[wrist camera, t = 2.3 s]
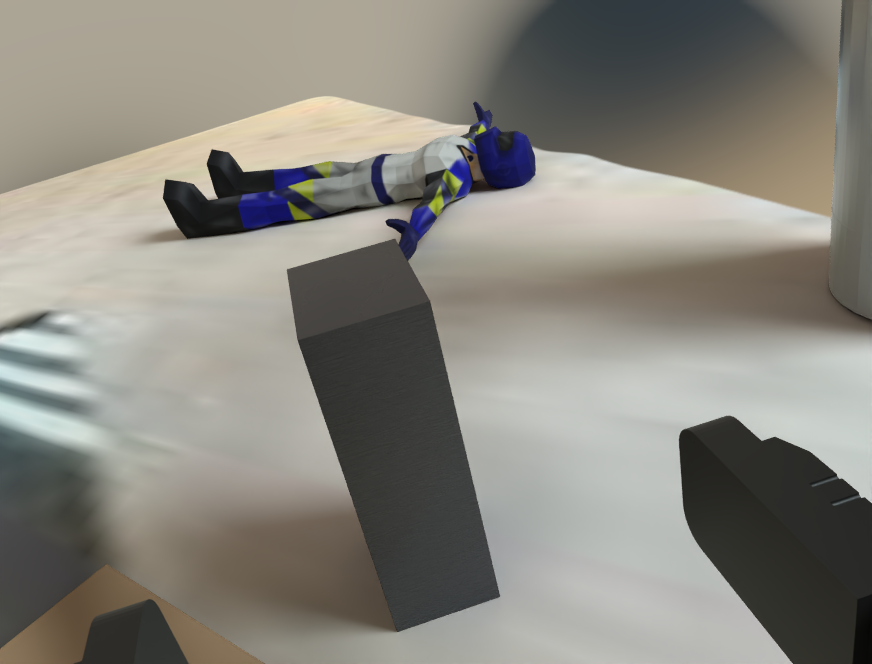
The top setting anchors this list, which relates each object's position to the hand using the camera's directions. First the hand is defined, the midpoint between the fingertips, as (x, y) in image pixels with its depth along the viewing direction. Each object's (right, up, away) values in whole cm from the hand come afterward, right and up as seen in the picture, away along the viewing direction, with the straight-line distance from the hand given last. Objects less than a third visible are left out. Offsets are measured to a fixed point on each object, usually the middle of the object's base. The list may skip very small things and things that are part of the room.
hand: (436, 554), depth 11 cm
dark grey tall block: (0, -5, +15) cm, 16 cm away
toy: (-6, +14, +53) cm, 55 cm away
